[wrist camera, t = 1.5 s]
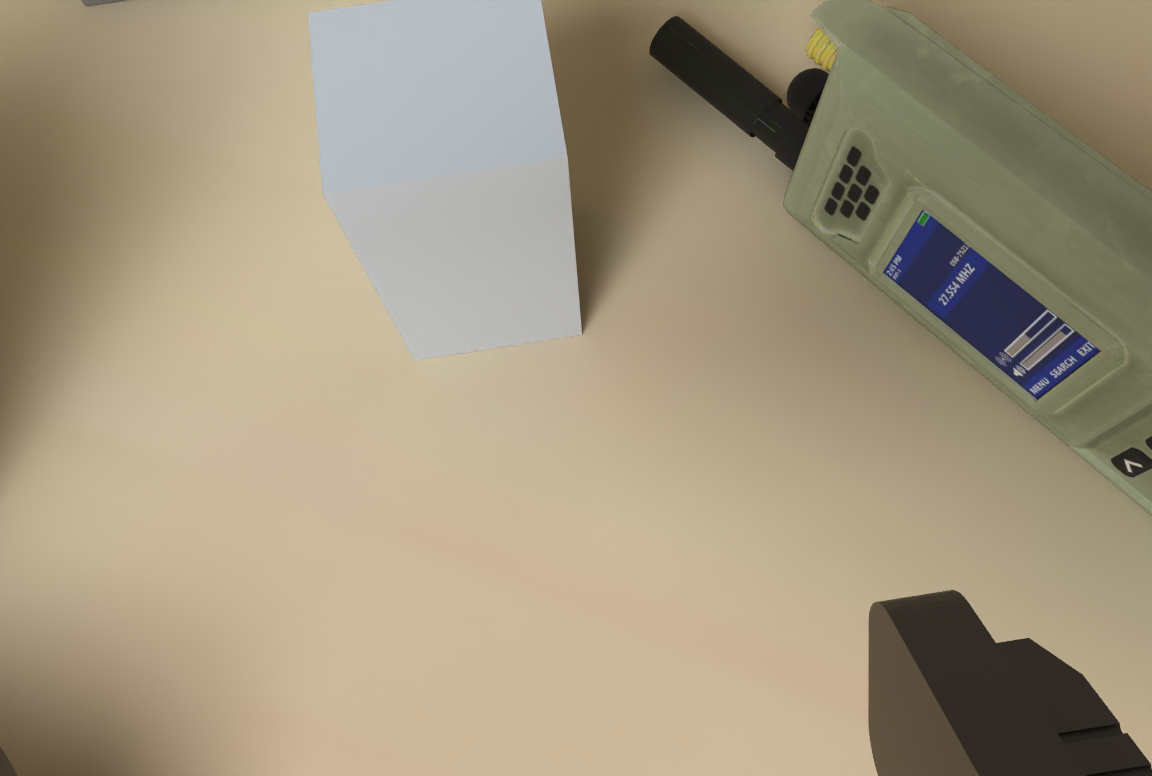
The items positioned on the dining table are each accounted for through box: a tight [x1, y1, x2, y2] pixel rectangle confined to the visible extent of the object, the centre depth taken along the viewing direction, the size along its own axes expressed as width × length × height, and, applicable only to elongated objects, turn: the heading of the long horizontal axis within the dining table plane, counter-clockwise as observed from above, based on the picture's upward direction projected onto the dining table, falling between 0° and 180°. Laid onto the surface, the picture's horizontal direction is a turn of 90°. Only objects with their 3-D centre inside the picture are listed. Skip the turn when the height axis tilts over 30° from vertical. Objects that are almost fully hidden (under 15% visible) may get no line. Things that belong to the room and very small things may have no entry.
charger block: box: [308, 0, 582, 361], centre depth 23 cm, size 4×4×9 cm
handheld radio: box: [650, 0, 1152, 515], centre depth 24 cm, size 7×3×25 cm
